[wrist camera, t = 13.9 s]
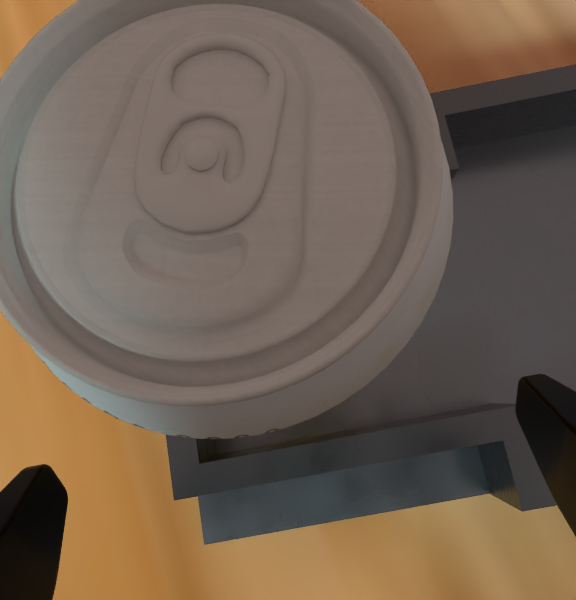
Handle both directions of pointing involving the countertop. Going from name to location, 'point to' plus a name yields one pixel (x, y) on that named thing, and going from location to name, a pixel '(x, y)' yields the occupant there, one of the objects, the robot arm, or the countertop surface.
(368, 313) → the beer can
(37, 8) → the countertop surface
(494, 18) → the countertop surface
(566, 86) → the keyhole plate
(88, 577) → the countertop surface
